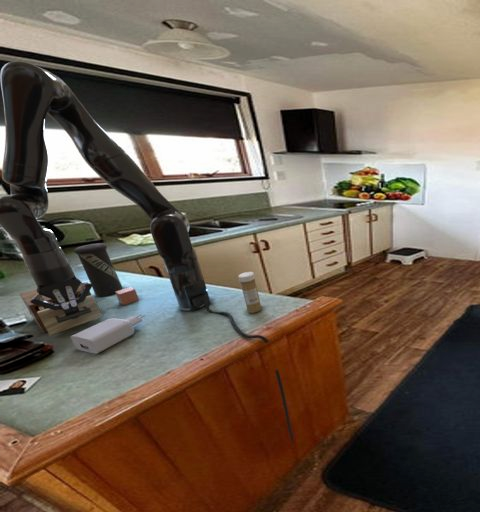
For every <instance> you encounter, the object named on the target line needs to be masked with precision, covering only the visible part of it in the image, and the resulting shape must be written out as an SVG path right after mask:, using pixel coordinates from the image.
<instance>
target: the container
mask: <svg viewBox="0 0 480 512" xmlns="http://www.w3.org/2000/svg"><path fill="white" fill-rule="evenodd" d="M107 249H108V245H107V244H106V243H102V242H100V243H99V242H97V243H90V244H86V245H81V246H78V247H76V248H74V249H73V252H74V254H76V255H77V256H78V259H79V261H80V263H81V265H82V267H83V269H84V272H85V275H86V276H87V278H88V282H89V283H91V284H92V288H91V289H92V290H93V292H94V295H95V296H96V297H105V296H106V297H107V296H110V295H114V294H116V293H115V292H116V291H119V290H122V289H124V287H123V285H122V283H121V281H120V279H119V276H118V274H117V272H116V269H115V267H114V264H113V262H112V260H111V258H110V256H109V253H108V251H107Z"/></svg>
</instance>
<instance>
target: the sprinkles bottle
mask: <svg viewBox="0 0 480 512" xmlns="http://www.w3.org/2000/svg"><path fill="white" fill-rule="evenodd" d="M255 277H256V276H255V273H254V272H253V271H244V272H242V273H240V274H238V280H239V283H240V287H241V290H242V295H243V298H244V303H245V306H246V309H247V310H246V312H247V313H249V314H255V313H258V312H260V311H261V310H262V305H261V299H260V295H259V291H258V288H257V283H256V278H255Z"/></svg>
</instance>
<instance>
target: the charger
mask: <svg viewBox="0 0 480 512" xmlns="http://www.w3.org/2000/svg"><path fill="white" fill-rule="evenodd" d="M145 317H146V315H145V314H144V315H142V314H138V315H130V316H128V317H126V318H124V319H122V318H115V317H111V318H107V319H106V320H103V321H101V322H99V323H97V324H94V325H92V326H90V327H88V328H85V329H83V330H81V331H78V332H77V333H75V334H72V335H70V340H71V341H72V343H73V345H74V347H75V348H76V349H77V350H79V351H81V352H86V353H91V354H94V355H97V354H99V353H101V352H103V351H105V350H106V349H109V348H110V347H113V346H114V345H116V344H118V343H120V342H122V341H124V340H125V339H127V338H129V337H131V336H133V335H134V333H135V329H134V326H136V325H138V324H140V323H142V322H143V318H145Z"/></svg>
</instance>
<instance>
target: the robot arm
mask: <svg viewBox="0 0 480 512" xmlns="http://www.w3.org/2000/svg"><path fill="white" fill-rule="evenodd" d="M0 88H1V94H2V102H3V113H4V125H5V129H4V130H5V140H4V141H5V142H4V152H3V160H2V161H3V162H2V168H1V169H2V170H1V178H2V181H4V182H5V183H6V184H8V185H9V188H10V194H9V195H2V196H0V227H1V228H2V229H3V230H4V231H5V232H6V233H7V234H8V235H9V236H10V237H11V238H12V239H13V240H14V242H15V244H16V246H17V248H18V250H19V251H20V254H21V256H22V258H23V262H24V264H25V267H26V269H27V270H28V272H29V273H30V275H31V278H32V279H33V281H34V283H35V285H36V287H37V288H36V289H37V294H36V295H35V296H34V297H32V298H30V299H29V301H30V302H31V303H33V304H36V305H39V306H42V307H45V308H49V309H52V310H60V309H62V310H63V311H64V313H65V315H66V316H67V315H70V314H73V313H76V312H79V308H78V306H77V305H78V304H79V303H81V302H84V300H85V298H86V297H87V295H88V293H89V291H90V292H91V290H92V289H93V288H92V284H91V283H90V281H88V282H87V281H86V282H84V281H82V280H80V279H79V278H78V277H77V276H76V275H75V272H74V270H73V268H72V266H71V264H70V262H69V260H68V257H67V255H66V253H65V252H64V251H63V249H62V247H61V246H60V244H59V240H58V239H57V237H56V235H55V234H54V232H53V231H52V230H51V229H48V228H44V227H43V226H42V224H41V223H40V222H39V220H38V219H41V218H42V217H44V216H45V215H46V214H47V211H48V209H49V194H48V189H47V180H48V179H47V178H48V173H49V167H50V155H49V150H48V144H47V141H46V135H45V123H46V116H47V115H48V116H49V117H50V118H51V119H52V120H53V121H54V122H56V123H57V124H58V125H59V126H60V127H61V128H62V129H63V131H64V132H66V134H67V135H68V136H69V138H70V139H71V141H72V143H73V144H74V147H76V149H77V152H79V154H80V156H81V157H82V159H83V160H84V162H85V163H86V164H87V165H88V166H89V167H90V169H92V171H93V172H95V174H96V175H98V177H99V178H101V180H102V181H104V182H105V184H106V185H108V186H109V187H110V188H111V189H113V190H115V191H116V192H117V193H119V194H121V195H122V196H123V197H124V198H127V199H128V200H130V201H131V202H132V203H134V204H135V205H137V206H138V207H139V208H140V209H141V210H142V211H143V212H144V214H145V215H146V216H147V217H148V218H149V219H150V220H151V221H150V224H149V228H150V234H151V237H152V240H153V243H154V245H155V248H156V251H157V252H158V253H157V254H158V255H159V256H160V257H161V259H162V261H163V264H164V267H165V270H166V273H167V275H168V279H169V281H170V285H171V287H172V290H173V292H174V296H175V299H176V302H177V305H178V308H179V310H180V311H182V312H189V311H190V312H195V311H197V310H199V309H201V308H203V307H205V309H206V311H207V312H208V313H209V314H216V315H225V316H227V317H228V318H229V320H230V323H231V325H232V326H233V328H234V329H235V331H236V333H238V334H239V335H240V336H242V337H244V338H246V339H260V340H262V341H263V342H265V343H269V342H270V340H269V339H267V338H266V337H265V336H264V335H261V334H247V333H245V332H244V331H242V330H241V328H240V327H239V326H238V325H237V324H236V322H235V320H234V317H233V316H232V314H231V313H230V312H228V311H213V310H211V309H210V305H211V297H210V294H209V290H208V288H207V285H206V281H205V278H204V274H203V272H202V271H203V270H202V268H201V264H200V260H199V257H198V253H197V251H196V249H195V248H194V246H193V244H192V241H191V238H190V237H191V236H190V234H189V232H190V228H191V224H190V221H189V220H188V218H187V216H185V214H183V213H182V211H180V210H179V209H177V207H175V206H174V205H173V204H172V203H171V202H170V201H169V200H168V199H167V198H166V197H165V196H164V195H163V194H162V193H161V192H160V190H159V189H158V188H157V187H156V185H155V184H154V183H153V182H152V180H151V179H150V178H149V177H148V175H147V174H146V173H144V171H143V170H142V169H141V167H140V166H139V165H138V164H137V163H136V162H135V160H134V159H132V157H130V156H129V154H128V153H127V151H125V150H124V149H123V148H122V147H121V146H120V145H119V144H118V143H117V142H116V140H115V139H114V138H113V137H111V135H110V134H109V133H108V132H107V131H106V130H105V129H104V128H103V127H102V126H100V125H99V123H98V122H97V121H96V120H95V119H94V118H93V117H92V116H91V115H90V113H89V112H88V110H87V109H86V108H85V106H84V105H83V104H82V103H81V101H80V100H79V99H78V97H77V96H76V94H75V93H74V92H73V91H72V89H71V88H70V87H69V86H68V85H67V83H66V82H64V80H63V79H61V78H60V77H59V76H58V75H56V74H54V73H52V72H51V71H48V70H47V69H44V68H42V67H39V66H38V65H36V64H33V63H30V62H28V61H22V60H13V61H9V62H7V63H5V64H4V65H3V66H2V67H1V69H0ZM79 286H80V288H81V289H82V290H81V291H80V293H79V295H78V297H77V299H75V296H74V294H75V293H76V291H77V289H78V287H79ZM42 296H45V297H48V298H51V299H54V300H57V301H58V303H59V304H58V305H56V304H53V303H50V302H47V301H44V298H43V297H42ZM64 297H67V299H68V302H69V305H70V306H68V304H67V303H66V301H65V300H64ZM78 317H79V316H78ZM78 317H75V318H78ZM75 318H72V319H75ZM275 376H276V378H277V383H278V387H279V390H280V395H281V400H282V404H283V410H284V414H285V419H286V424H287V429H288V434H289V438H290V441H291V442H294V441H295V439H294V435H293V430H292V425H291V420H290V415H289V409H288V406H287V405H288V404H287V400H286V395H285V390H284V386H283V383H282V379H281V374H280V371H279V369H276V370H275Z"/></svg>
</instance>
